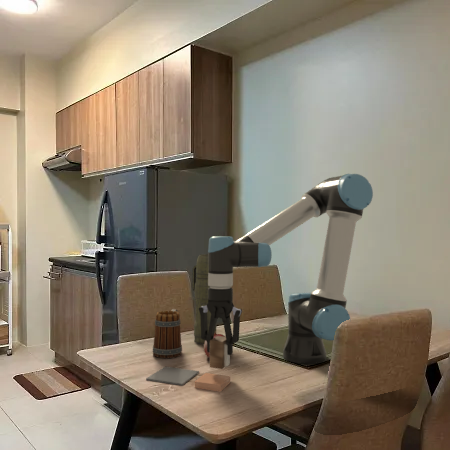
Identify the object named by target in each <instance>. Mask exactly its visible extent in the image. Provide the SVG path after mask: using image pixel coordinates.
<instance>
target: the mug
mask: <svg viewBox="0 0 450 450" xmlns="http://www.w3.org/2000/svg"><path fill="white" fill-rule="evenodd" d="M153 335H154V337H153V345H152V355H153V356H154V357H156V358H157V359H173V358H178V357H179V356H181V355H182V353H183V346H182V335H181V318H180V313H179V311H178V309H175V308H172V309H171V310H162V311H161V310H160V311H157V312H156V314H155V320H154V334H153Z"/></svg>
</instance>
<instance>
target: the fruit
mask: <svg viewBox="0 0 450 450" xmlns="http://www.w3.org/2000/svg"><path fill="white" fill-rule="evenodd" d="M217 336H223V337H226V335H224V334H222V333H217V330H216V331H215V333H214V337H213V338H215V337H217ZM203 352H204V354H205V355H206V358H207V357H208V358H209V359H210V353H209V352H207V341H206V340H205V343H204V344H203Z"/></svg>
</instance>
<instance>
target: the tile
mask: <svg viewBox="0 0 450 450" xmlns="http://www.w3.org/2000/svg"><path fill="white" fill-rule="evenodd" d="M230 383H231V375H224V374H216V373H209V372H205V373H204V374H202V375H201V376H199V377H198V378H197V379H196V380H195V381H194V389H200V390H201V389H202V390H207V391H214V392H220V393H222V391H223V390H224V389H225V388H226V387H227V386H228V385H230Z"/></svg>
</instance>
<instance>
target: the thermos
mask: <svg viewBox="0 0 450 450" xmlns="http://www.w3.org/2000/svg"><path fill="white" fill-rule="evenodd" d="M208 270H209V263H208V253H201V254H199V255H198V257H197V260H196V265H194V266H193V267H192V283H191V284H192V286H191V287H192V291H194V299H195V321H194V325H193V336H194V343H195V344H197V345H204V343H205V340H203V339H201V315H200V312H199V307H202V306H206V305H207V303H208V288H209V287H210V286H208ZM210 318H211V313H210V311H209V310H208V312H207V322H208V330H209V325H210ZM215 331H216V332H217V327H216V328H215ZM214 333H215V332H214Z"/></svg>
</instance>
